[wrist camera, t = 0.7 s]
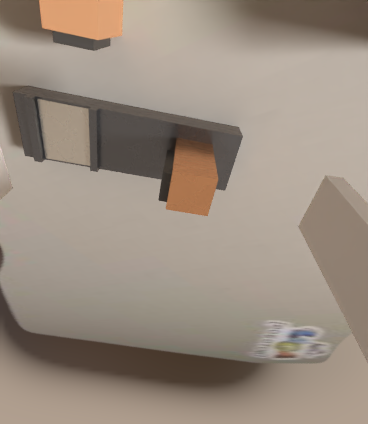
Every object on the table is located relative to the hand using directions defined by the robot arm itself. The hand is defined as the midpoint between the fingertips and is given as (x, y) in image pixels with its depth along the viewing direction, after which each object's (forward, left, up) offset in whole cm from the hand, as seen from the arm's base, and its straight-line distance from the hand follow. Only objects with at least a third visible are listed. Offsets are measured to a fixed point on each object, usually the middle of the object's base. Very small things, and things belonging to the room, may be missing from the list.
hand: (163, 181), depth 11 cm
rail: (+7, -5, -21) cm, 23 cm away
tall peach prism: (-5, -9, -21) cm, 23 cm away
